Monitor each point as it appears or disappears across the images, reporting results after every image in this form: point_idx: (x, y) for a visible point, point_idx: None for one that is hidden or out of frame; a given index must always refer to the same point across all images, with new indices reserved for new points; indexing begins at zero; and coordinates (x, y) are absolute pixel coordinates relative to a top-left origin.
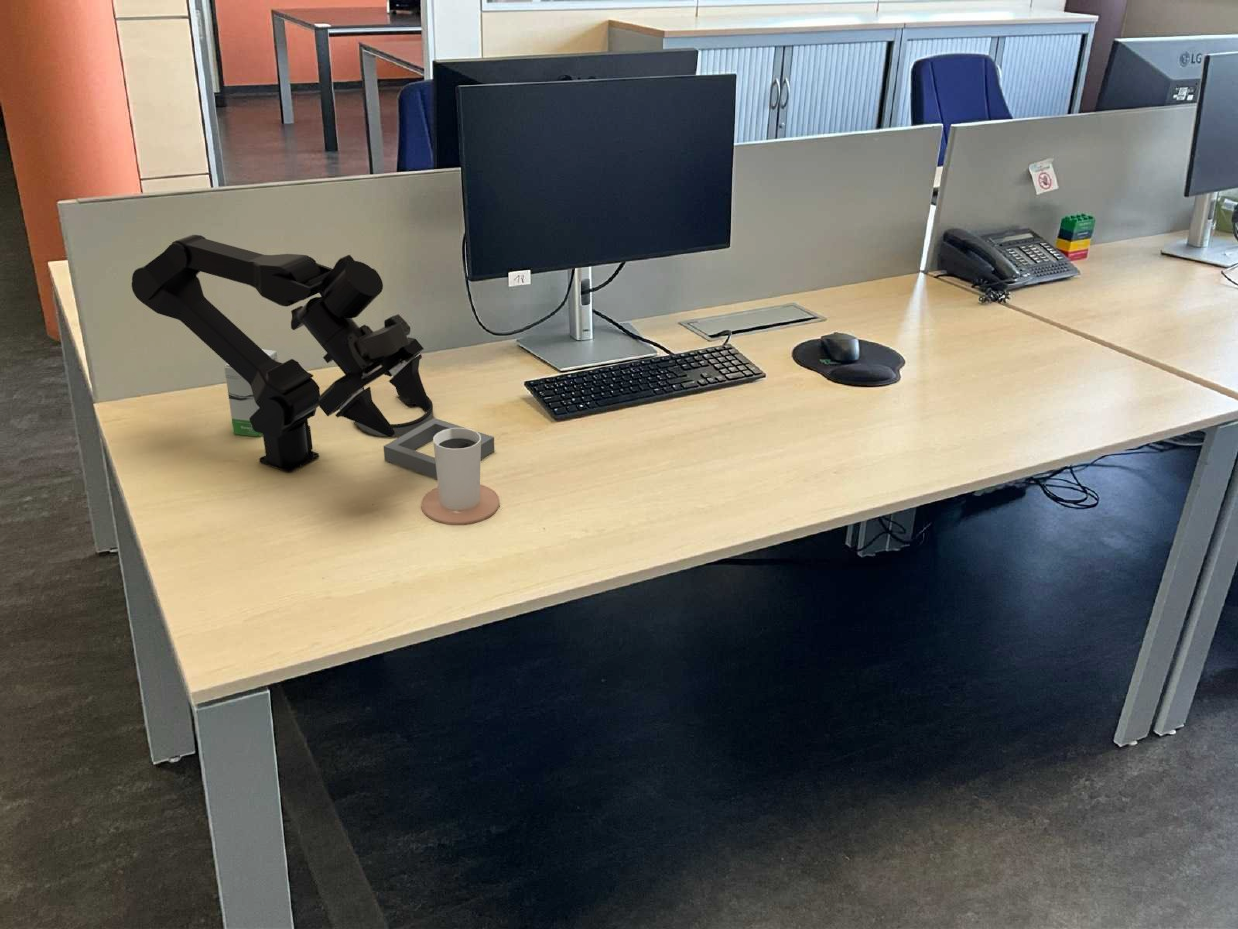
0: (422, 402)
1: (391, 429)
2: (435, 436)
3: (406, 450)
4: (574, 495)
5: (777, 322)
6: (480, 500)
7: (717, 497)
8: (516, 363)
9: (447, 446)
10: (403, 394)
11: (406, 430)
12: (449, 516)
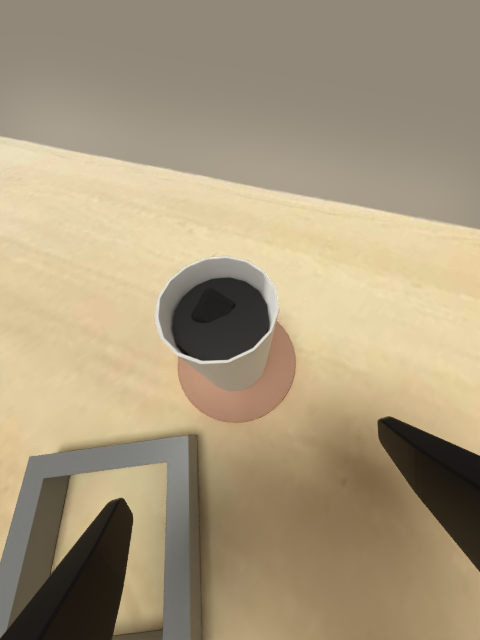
0: (109, 555)
1: (404, 424)
2: (244, 352)
3: (174, 598)
4: (132, 277)
5: None
6: None
7: (74, 200)
8: None
9: (232, 334)
10: None
11: None
12: (277, 337)
